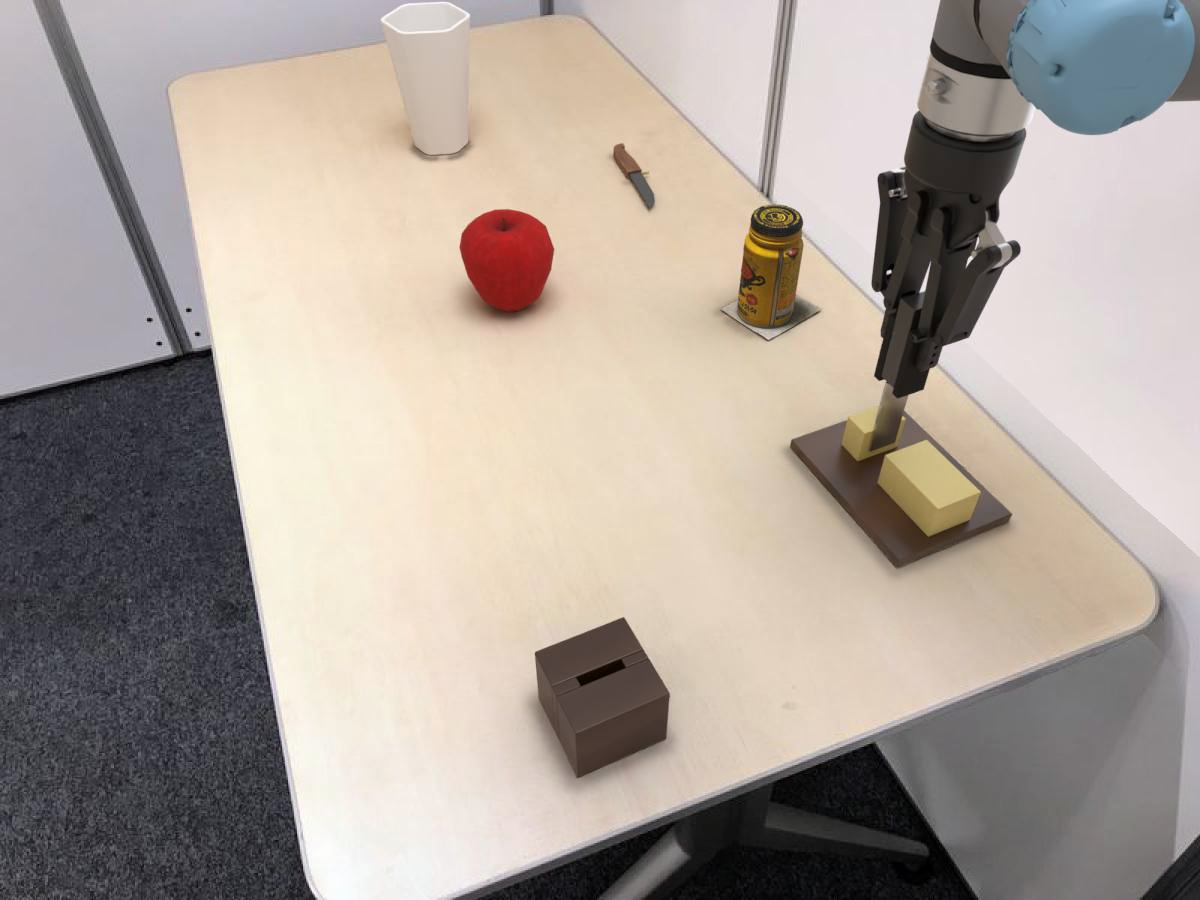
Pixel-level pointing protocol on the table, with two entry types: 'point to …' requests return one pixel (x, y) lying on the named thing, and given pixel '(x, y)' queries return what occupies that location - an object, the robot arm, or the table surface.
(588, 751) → the knife block
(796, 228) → the condiment
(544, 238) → the apple
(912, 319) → the butter knife
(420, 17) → the cup
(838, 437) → the butter board
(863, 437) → the butter slice
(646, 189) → the knife
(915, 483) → the butter block
